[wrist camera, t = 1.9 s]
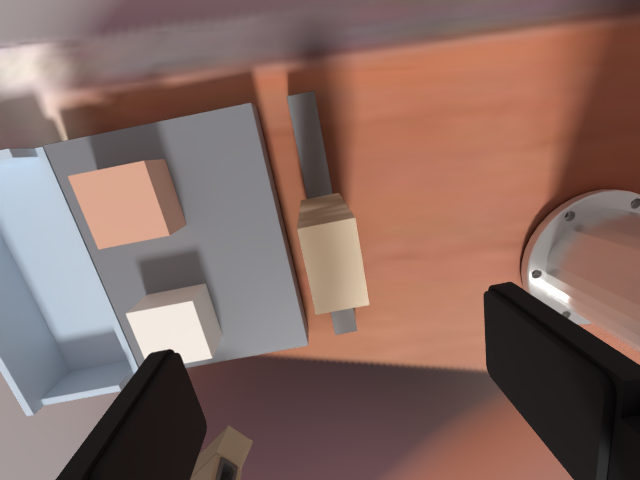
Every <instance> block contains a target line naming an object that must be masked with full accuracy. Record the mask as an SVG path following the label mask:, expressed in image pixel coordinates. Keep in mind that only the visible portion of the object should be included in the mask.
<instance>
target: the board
mask: <svg viewBox="0 0 640 480" xmlns="http://www.w3.org/2000/svg"><path fill="white" fill-rule="evenodd" d="M43 146H44V148H45V150H46V153H47V155H48V157H49V160H50V162H51V164H52V167H53V169H54V171H55V174H56V176H57V178H58V181H59V183H60V185H61V187H62V190H63V192H64V194H65V197H66V199H67V201H68V204H69V206H70V208H71V211H72V213H73V215H74V218H75V220H76V222H77V225H78V227H79V229H80V231H81V234H82V236H83V238H84V241H85V243H86V245H87V248H88V250H89V252H90V255H91V257H92V259H93V262H94V264H95V266H96V268H97V271H98V273H99V275H100V278H101V280H102V282H103V285H104V287H105V289H106V292H107V294H108V296H109V299H110V301H111V303H112V306H113V308H114V310H115V312H116V315H117V317H118V319H119V322H120V324H121V326H122V329H123V331H124V333H125V336H126V338H127V340H128V343H129V345H130V347H131V350H132V352H133V354H134V356H135V359H136V361H137V363H138V366H139V367H140V366H141V364H142V363H143V361H144V360H145V359H144V356H143V354H142V352H141V349H140V347H139V344H138V342H137V340H136V337H135V335H134V333H133V330H132V328H131V326H130V323H129V321H128V318H127V316H126V313H127V312H128V311H129V310H130V309H131V308H132V307H133V306H134V305H136V304H137V303H138V302H139V301H140V300H141V299H142V298H143V297H144V296H146V295H148V294H153V293H158V292H164V291H169V290H174V289H179V288H185V287H190V286H195V285H200V284H205V283H206V286H207V289H208V292H209V295H210V298H211V301H212V304H213V307H214V310H215V314H216V317H217V320H218V323H219V326H220V329H221V332H222V335H223V336H222V338H221V341H220V343H219V345H218V347H217V349H216V351H215V354H214V356H213V358H211V359H206V360H201V361H195V362H190V363H185V364H184V365H185V368H189V367H194V366H200V365H205V364H210V363H216V362H221V361H227V360H232V359H237V358H243V357H248V356H253V355H259V354H264V353H270V352H275V351H281V350H286V349H291V348H297V347H302V346H307V345H308V326H307V321H306V317H305V313H304V308H303V304H302V300H301V295H300V291H299V287H298V283H297V278H296V274H295V270H294V265H293V261H292V257H291V253H290V248H289V244H288V240H287V235H286V231H285V227H284V222H283V218H282V214H281V210H280V205H279V201H278V197H277V192H276V188H275V184H274V180H273V175H272V171H271V167H270V162H269V158H268V154H267V149H266V145H265V141H264V137H263V132H262V128H261V124H260V119H259V115H258V111H257V107H256V106H254V105H253V104H252V103H247V104H242V105H237V106H232V107H227V108H223V109H218V110H213V111H208V112H203V113H198V114H193V115H188V116H184V117H179V118H174V119H169V120H164V121H159V122H154V123H150V124H145V125H140V126H135V127H130V128H125V129H120V130H115V131H111V132H106V133H101V134H96V135H91V136H86V137H81V138H77V139H72V140H67V141H62V142H57V143H52V144H47V145H43ZM159 159H165V161H166V164H167V167H168V170H169V173H170V176H171V179H172V182H173V185H174V188H175V191H176V194H177V197H178V200H179V203H180V206H181V210H182V213H183V216H184V219H185V222H186V226H184V227H182V228H181V229H179V230H178V231H176V232H175V233H173V234H171V235H170V236H165V237H160V238H155V239H150V240H144V241H139V242H134V243H129V244H124V245H119V246H114V247H109V248H104V249H99V250H98V247H97V245H96V243H95V240H94V238H93V235H92V233H91V231H90V228H89V226H88V224H87V221H86V219H85V217H84V214H83V212H82V209H81V207H80V205H79V202H78V200H77V198H76V195H75V193H74V190H73V188H72V186H71V183H70V181H69V179H68V176H71V175H76V174H81V173H86V172H91V171H95V170H100V169H105V168H110V167H115V166H120V165H125V164H130V163H135V162H140V161H146V160H159Z"/></svg>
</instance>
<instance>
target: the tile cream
mask: <svg viewBox="0 0 640 480" xmlns="http://www.w3.org/2000/svg"><path fill="white" fill-rule="evenodd" d="M126 316H127V318H128V321H129V323H130V326H131V328H132V330H133V333H134V335H135V337H136V340H137V342H138V344H139V347H140V349H141V352H142V354H143V356H144V359H146V357H147V356H148V355H149V354H150V353H152V352H157V351H162V350H167V349H172V350H173V351H174V352H175V353H179V354H180V355H181V357H182V360H183V362H184V364H185V363H190V362H195V361H201V360H206V359H211V358H213V356H214V354H215V351H216V349H217V347H218V345H219V343H220V341H221V338H222V336H223V335H222V332H221V329H220V326H219V323H218V320H217V317H216V314H215V310H214V307H213V304H212V301H211V298H210V295H209V292H208V289H207V286H206V283H205V284H200V285H195V286H190V287H185V288H179V289H174V290H169V291H164V292H158V293H153V294H148V295H146V296H144V297H143V298H142V299H141V300H140V301H139V302H138V303H137V304H136V305H134V306H133V307H132V308H131V309H130V310H129V311H128V312H127V313H126Z"/></svg>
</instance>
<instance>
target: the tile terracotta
mask: <svg viewBox="0 0 640 480" xmlns="http://www.w3.org/2000/svg"><path fill="white" fill-rule="evenodd" d="M68 179H69V181H70V183H71V186H72V188H73V190H74V193H75V195H76V198H77V200H78V202H79V205H80V207H81V209H82V212H83V214H84V217H85V219H86V221H87V224H88V226H89V228H90V231H91V233H92V235H93V238H94V240H95V243H96V245H97V247H98V250H99V249H104V248H109V247H114V246H119V245H124V244H129V243H134V242H139V241H144V240H150V239H155V238H160V237H165V236H170V235H171V234H173V233H175V232H176V231H178V230H179V229H181V228H182V227H184V226H186V222H185V219H184V216H183V213H182V210H181V206H180V203H179V200H178V197H177V194H176V191H175V188H174V185H173V182H172V179H171V176H170V173H169V170H168V167H167V164H166V161H165V159H159V160H146V161H140V162H135V163H130V164H125V165H120V166H115V167H110V168H105V169H100V170H95V171H91V172H86V173H81V174H76V175H71V176H68Z"/></svg>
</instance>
